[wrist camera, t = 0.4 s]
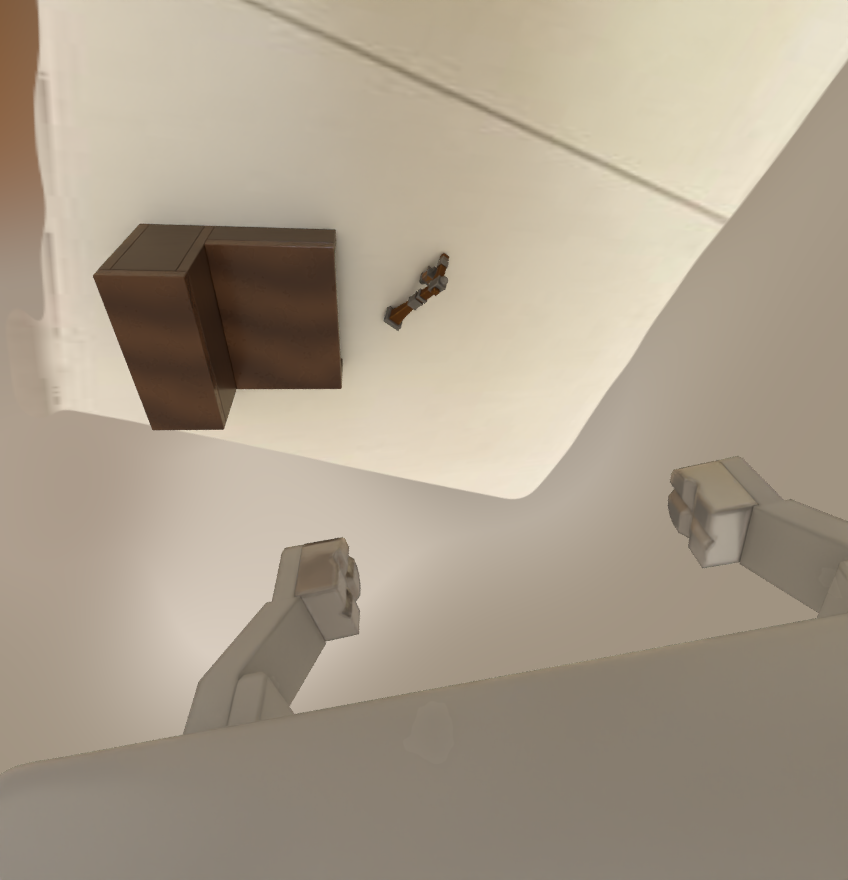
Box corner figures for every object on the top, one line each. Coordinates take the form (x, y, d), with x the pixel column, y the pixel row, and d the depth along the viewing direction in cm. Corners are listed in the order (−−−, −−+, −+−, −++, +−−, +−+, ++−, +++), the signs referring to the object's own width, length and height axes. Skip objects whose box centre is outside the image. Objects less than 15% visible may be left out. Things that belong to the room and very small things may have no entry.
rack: (139, 223, 42) (91, 275, 35) (335, 229, 44) (329, 280, 36) (182, 365, 51) (152, 430, 44) (342, 366, 53) (339, 428, 46)
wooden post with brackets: (460, 255, 45) (453, 291, 43) (407, 299, 51) (397, 332, 49) (445, 242, 45) (436, 279, 42) (393, 288, 50) (382, 322, 48)
